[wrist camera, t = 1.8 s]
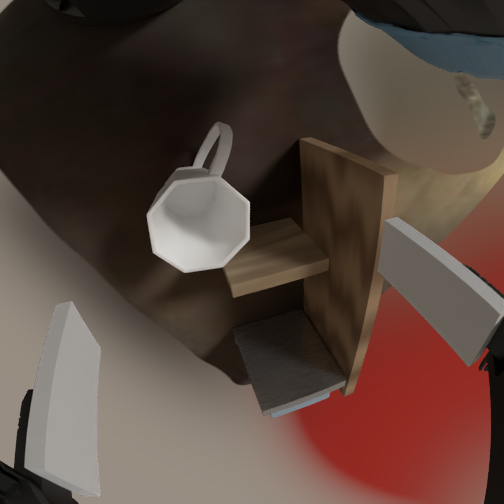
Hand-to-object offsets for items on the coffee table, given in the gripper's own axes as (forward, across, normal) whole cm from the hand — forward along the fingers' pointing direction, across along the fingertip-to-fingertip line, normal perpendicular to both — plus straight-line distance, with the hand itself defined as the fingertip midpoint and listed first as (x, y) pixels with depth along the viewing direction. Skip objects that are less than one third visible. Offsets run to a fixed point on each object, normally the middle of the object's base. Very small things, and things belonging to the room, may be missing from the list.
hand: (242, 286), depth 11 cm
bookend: (+16, +5, -20) cm, 26 cm away
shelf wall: (+16, +10, -11) cm, 22 cm away
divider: (+16, +4, -7) cm, 18 cm away
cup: (+16, 0, 0) cm, 16 cm away
